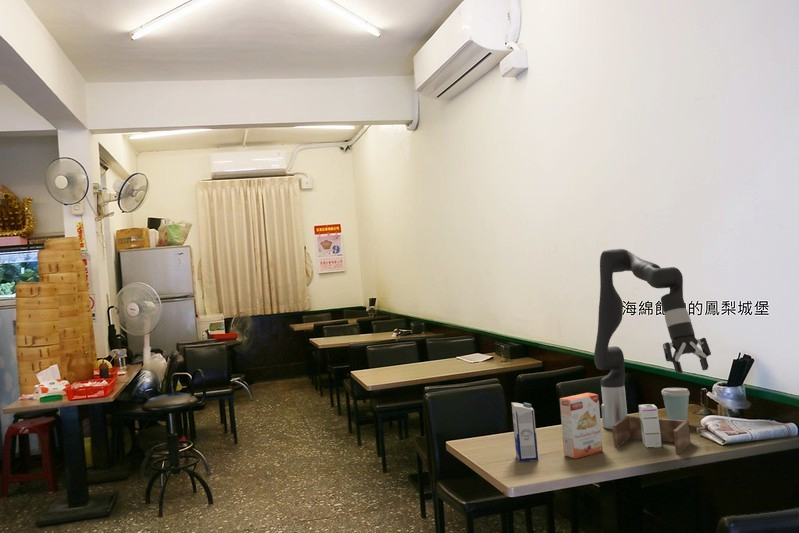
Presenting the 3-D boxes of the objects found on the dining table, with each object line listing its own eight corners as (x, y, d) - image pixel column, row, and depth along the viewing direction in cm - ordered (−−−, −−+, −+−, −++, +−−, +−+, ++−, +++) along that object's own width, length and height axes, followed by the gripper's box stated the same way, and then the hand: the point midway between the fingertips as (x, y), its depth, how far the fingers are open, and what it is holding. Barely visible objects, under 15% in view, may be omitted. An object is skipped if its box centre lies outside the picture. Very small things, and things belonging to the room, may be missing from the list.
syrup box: (662, 447, 210) (658, 407, 211) (645, 447, 211) (641, 407, 212) (658, 442, 216) (654, 403, 216) (641, 443, 217) (638, 404, 217)
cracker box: (575, 459, 205) (570, 400, 205) (563, 456, 210) (558, 397, 211) (604, 451, 211) (598, 393, 212) (592, 448, 216) (586, 391, 217)
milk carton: (516, 456, 214) (511, 401, 215) (534, 454, 214) (529, 400, 215) (519, 461, 207) (514, 405, 208) (538, 460, 207) (533, 404, 208)
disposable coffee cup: (660, 422, 243) (657, 386, 244) (687, 421, 242) (684, 384, 242) (668, 428, 233) (665, 391, 233) (697, 427, 231) (693, 389, 232)
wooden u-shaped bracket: (614, 446, 215) (612, 425, 216) (628, 436, 227) (626, 415, 227) (679, 454, 201) (677, 431, 201) (690, 442, 213) (688, 420, 213)
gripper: (693, 323, 200) (707, 370, 195) (653, 328, 199) (666, 376, 194) (704, 318, 193) (719, 367, 188) (663, 323, 192) (677, 372, 187)
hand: (692, 371), depth 191 cm, fingers open, 8 cm apart
